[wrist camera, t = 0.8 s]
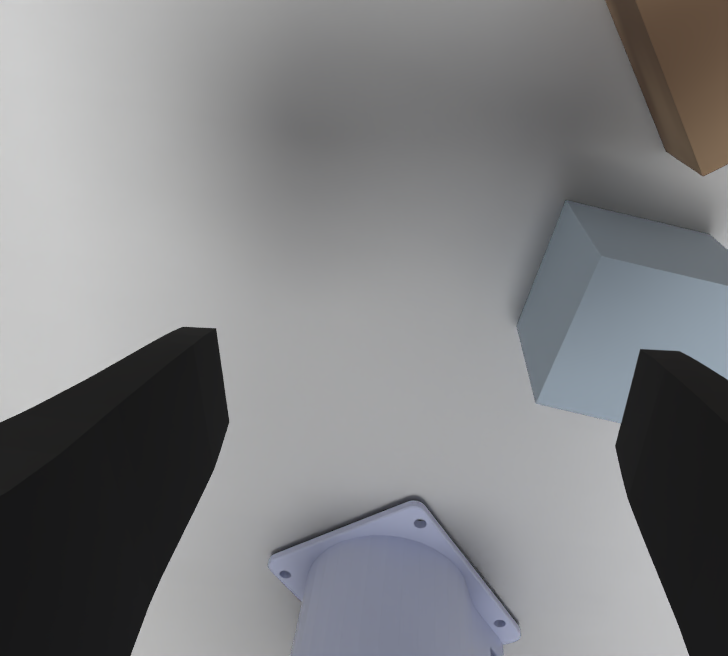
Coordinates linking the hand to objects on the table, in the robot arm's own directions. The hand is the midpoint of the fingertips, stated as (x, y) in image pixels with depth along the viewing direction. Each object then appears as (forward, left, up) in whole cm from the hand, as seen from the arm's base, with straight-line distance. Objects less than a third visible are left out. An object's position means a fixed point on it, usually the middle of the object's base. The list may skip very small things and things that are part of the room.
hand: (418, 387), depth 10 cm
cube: (-5, -4, -10) cm, 12 cm away
